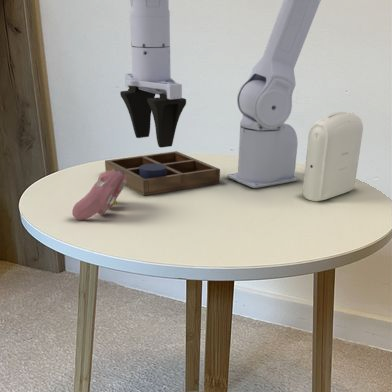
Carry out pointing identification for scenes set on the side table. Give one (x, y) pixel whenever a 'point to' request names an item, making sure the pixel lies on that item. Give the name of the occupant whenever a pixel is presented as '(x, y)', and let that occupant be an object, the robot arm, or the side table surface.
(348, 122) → the photo printer
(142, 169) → the round container
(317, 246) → the side table surface
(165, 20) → the robot arm
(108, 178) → the pink rounded lump
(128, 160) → the grid
